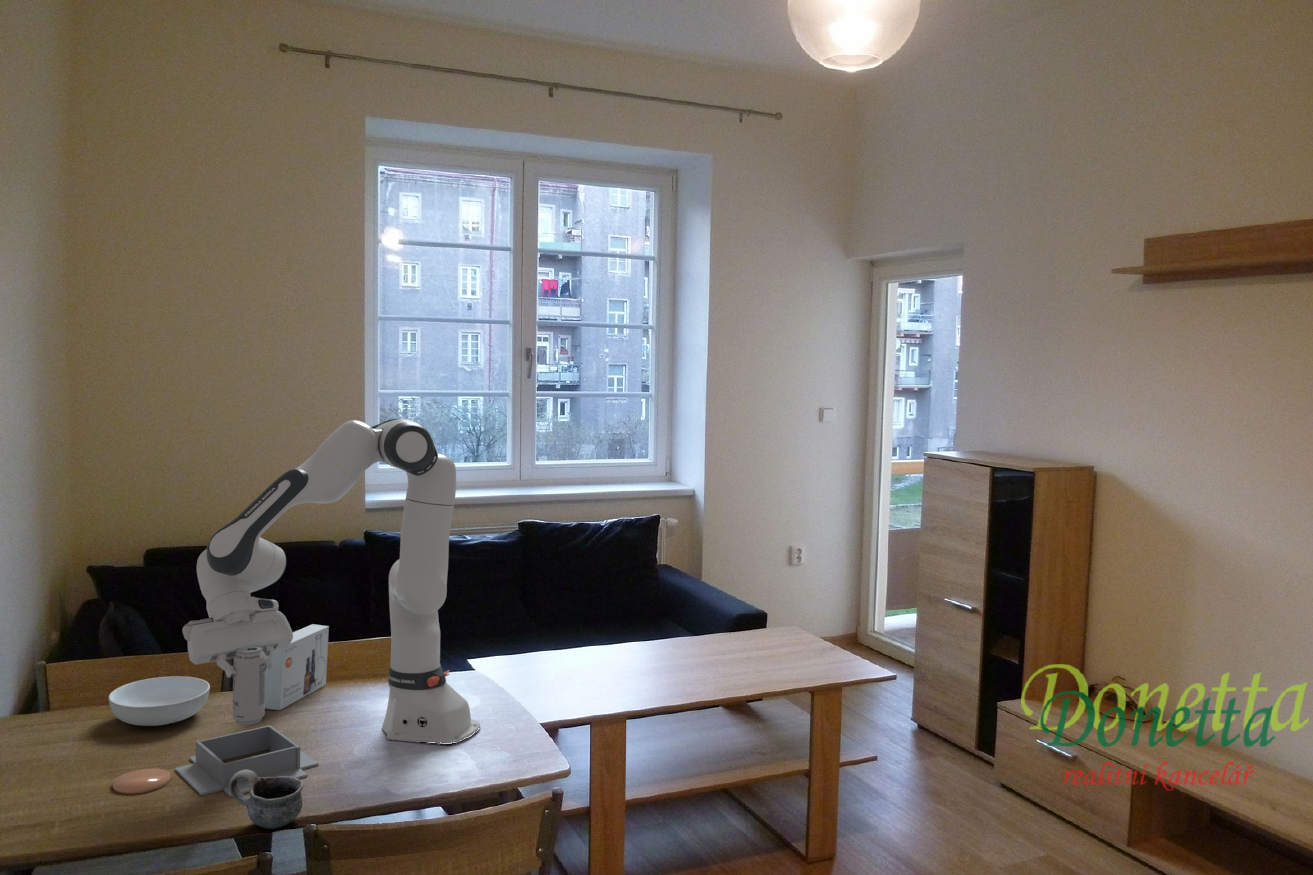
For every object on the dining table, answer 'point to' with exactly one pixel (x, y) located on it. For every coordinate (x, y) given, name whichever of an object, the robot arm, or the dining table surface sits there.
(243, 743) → the grey open box
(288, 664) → the skincare box
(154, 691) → the serving bowl
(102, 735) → the dining table surface
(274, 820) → the mug
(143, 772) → the coaster
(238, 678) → the energy drink can
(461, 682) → the dining table surface
